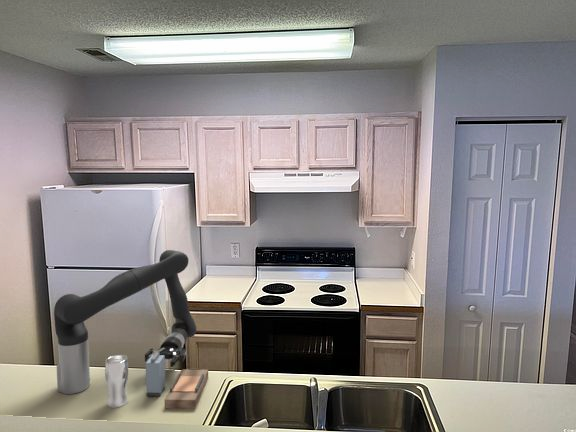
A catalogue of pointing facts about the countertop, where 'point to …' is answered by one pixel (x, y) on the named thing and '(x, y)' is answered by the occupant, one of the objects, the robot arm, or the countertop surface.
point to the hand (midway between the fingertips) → (159, 364)
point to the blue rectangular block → (155, 375)
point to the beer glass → (116, 380)
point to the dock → (186, 389)
